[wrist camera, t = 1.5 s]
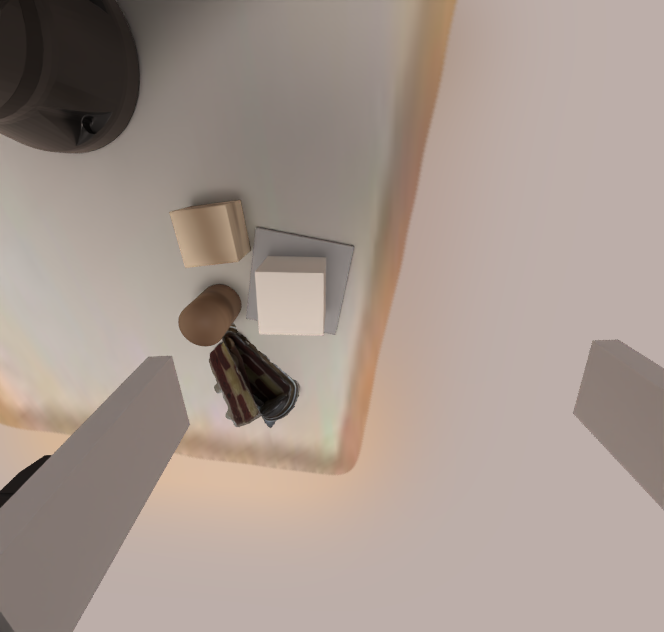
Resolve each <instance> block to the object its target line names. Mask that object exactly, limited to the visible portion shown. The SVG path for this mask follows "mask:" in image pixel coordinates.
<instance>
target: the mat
mask: <svg viewBox="0 0 664 632" xmlns="http://www.w3.org/2000/svg"><path fill="white" fill-rule="evenodd" d="M353 250H354V246H351V245H346V244H341V243H336V242H330V241H325V240H320V239H315V238H310V237H305V236H300V235H295V234H289V233H284V232H279V231H274V230H269V229H264V228H259V227H256V230H255V239H254V249H253V258H252V268H251V277H250V287H249V297H248V306H247V316H246V319H251V320H256V321H258V311H257V297H256V283H255V271H256V270H257V268H258V267H259V266H260V265H261V264H262V262H263V261H264V260H265V259H266V258H267V256H295V257H326V315H325V325H324V333H328V334H333V335H335V333H336V329H337V324H338V319H339V315H340V310H341V306H342V301H343V296H344V292H345V287H346V282H347V278H348V273H349V268H350V264H351V259H352V254H353Z"/></svg>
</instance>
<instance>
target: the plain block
mask: <svg viewBox="0 0 664 632" xmlns="http://www.w3.org/2000/svg"><path fill="white" fill-rule="evenodd" d="M255 283H256V297H257V311H258V324H259V334H273V335H317V336H323V335H324V325H325V315H326V257H295V256H267V258H266V259H265V260H264V261H263V262H262V264H261V265H260V266H259V267H258V268H257V270H256V271H255Z"/></svg>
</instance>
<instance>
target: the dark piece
mask: <svg viewBox="0 0 664 632" xmlns="http://www.w3.org/2000/svg"><path fill="white" fill-rule="evenodd" d="M237 332H238V331H237V329H236V326H235V325H234V324H231V326H230V327H229V329H228V330H227V332H226V333H225V335H224V336H223V337H222V340H223V343H222V344H219V345H218V346H217V347H216V348H215V350H213V351H212V352H211V353H210V359H209V363H210V366H211V369H212V372H213V374H214V376H215V378H216V381H217V384H216V385H215V386H214V389H215V391H216V393H223V398H224V400H225V401H226V403H227V405H228V411H227V413H226V418H227V419H231V420H232V421H233V423H234V425H235V426H236V427H240V426H243V425H246V424H249V423H250V422H252V421H254V420H255V419H257V418H259V417H260V416H262V418H263V419H264V421H265V423H266V424H267V426H268V427H270V428H271V427H272V426H273V425H274V424H275V421H276V420H278V419H281V418H283V417H285V416H286V415H288V413H289V412H290V411H291V410H292V409H293V408H294V407H295V406H294V405H295V403H296V401H297V398H298V396H299V385H298V383H297V381H296V380H293V379H291V378H290V377H289V376H288V375H287V374H286V373H284V372H283V371H282V370H281V369H280V368H278V366H277V365H275V364H274V363H271V362H270V360H269V359H268V357H267V356H266V355H265V354H262V353H261V352H260V351H257V349H256V347H255V346H254V345H253V344H251V343H250V342H249V341H248V340H247V339H246V337H243V335H241V336H242V337H241V336H239V335H237V334H236V333H237ZM245 341H247V342H249V345H248V344H246V343H245ZM253 395H255V396H257V397H258V399H261V400H262V401H263V405H262V406H258V405H257V404H256V402H255V400H254V396H253Z"/></svg>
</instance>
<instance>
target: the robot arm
mask: <svg viewBox="0 0 664 632" xmlns="http://www.w3.org/2000/svg"><path fill="white" fill-rule="evenodd" d="M138 90H139V65H138V58H137V52H136V48H135V44H134V40H133V37H132V34H131V31H130V28H129V26H128V24H127V21H126V19H125V17H124V15H123V13H122V11H121V9H120V7H119V6H118V4H117V2H116V1H115V0H0V133H1V134H3V135H5V136H7V137H9V138H11V139H13V140H15V141H18V142H20V143H22V144H24V145H27V146H30V147H33V148H36V149H40V150H44V151H50V152H63V153H84V152H89V151H93V150H96V149H99V148H101V147H103V146H105V145H107V144H108V143H110V142H111V141H113V140H114V139H115V138H116V137H117V136H118V135H119V134H120V133H121V132H122V131H123V129H124V128H125V127H126V125H127V124H128V122H129V120H130V118H131V116H132V114H133V111H134V108H135V105H136V101H137V96H138ZM573 414H574V415H575V416H576V417H577V418H578V419H579V420H580V421H581V422H582V423H583V424H584V426H585V427H586V428H587V429H588V430H589V431H590V432H591V433H592V434H593V435H594V436H595V437H596V438H597V439H598V441H599V442H601V444H602V445H603V446H604V447H605V448H606V449H607V450H608V451H609V452H610V453H611V454H612V455H613V457H614V458H615V459H617V461H618V462H619V463H620V464H621V465H622V466H623V467H624V468H625V469H626V470H627V471H628V472H629V473H630V475H631V476H632V477H633V478H634V479H635V480H636V481H637V482H638V483H639V484H640V485H641V486H642V487H643V488H644V490H645V491H646V492H647V493H648V494H649V495H650V496H651V497H652V498H653V499H654V500H655V501H656V502H657V503H658V504H659V506H660V507H661V508H662V509H663V510H664V368H662V367H661V366H659V365H658V364H656V363H654V362H653V361H651V360H650V359H648V358H646V357H645V356H643V355H642V354H640V353H639V352H637V351H635V350H634V349H632V348H631V347H629V346H628V345H626V344H624V343H623V342H621V341H619V340H595V341H592V345H591V349H590V352H589V356H588V360H587V363H586V367H585V371H584V375H583V378H582V382H581V386H580V389H579V393H578V397H577V401H576V404H575V408H574V411H573ZM189 425H190V423H189V419H188V416H187V412H186V408H185V404H184V400H183V397H182V393H181V389H180V385H179V381H178V377H177V374H176V370H175V366H174V362H173V358H172V356H156V357H148V358H147V359H146V360H145V361H144V362H143V363H142V364H141V365H140V366H139V367H138V368H137V369H136V370H135V371H134V372H133V373H132V374H131V375H130V376H129V377H128V378H127V379H126V380H125V381H124V382H123V383H122V384H121V385H120V386H119V387H118V388H117V389H116V390H115V391H114V392H113V393H112V394H111V395H110V396H109V398H108V399H107V400H106V401H105V402H104V403H103V404H102V405H101V406H100V407H99V408H98V409H97V410H96V411H95V412H94V413H93V414H92V415H91V416H90V417H89V418H88V419H87V420H86V421H85V422H84V423H83V424H82V425H81V426H80V427H79V428H78V429H77V430H76V431H75V432H74V433H73V434H72V435H71V436H70V437H69V438H68V439H67V441H66V442H65V443H64V444H63V445H62V446H61V447H60V448H59V449H58V450H57V451H56V452H55V453H54V454H53V455H46V456H43V457H42V458H40V459H39V460H37V461H36V462H34V463H33V464H31V465H30V466H28V467H27V468H25V469H24V470H22V471H21V472H19V473H18V474H17V475H16V476H15V477H14V478H13V479H12V480H11V481H10V482H9V483H8V484H7V485H6V486H5V487H4V488H3V489H2V490H1V491H0V632H73V630H74V629H75V627H76V625H77V623H78V621H79V620H80V618H81V616H82V614H83V613H84V611H85V609H86V607H87V606H88V604H89V602H90V600H91V598H92V597H93V595H94V593H95V591H96V590H97V588H98V586H99V584H100V583H101V581H102V579H103V577H104V575H105V574H106V572H107V570H108V568H109V567H110V565H111V563H112V561H113V560H114V558H115V556H116V554H117V553H118V551H119V549H120V547H121V545H122V544H123V542H124V540H125V538H126V536H127V535H128V533H129V531H130V530H131V528H132V526H133V524H134V522H135V521H136V519H137V517H138V515H139V514H140V512H141V510H142V508H143V507H144V505H145V503H146V501H147V499H148V498H149V496H150V494H151V492H152V491H153V489H154V487H155V485H156V483H157V482H158V480H159V478H160V476H161V475H162V473H163V471H164V469H165V468H166V466H167V464H168V462H169V461H170V459H171V457H172V455H173V454H174V452H175V450H176V448H177V446H178V445H179V443H180V441H181V439H182V438H183V436H184V434H185V432H186V431H187V429H188V427H189Z"/></svg>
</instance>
